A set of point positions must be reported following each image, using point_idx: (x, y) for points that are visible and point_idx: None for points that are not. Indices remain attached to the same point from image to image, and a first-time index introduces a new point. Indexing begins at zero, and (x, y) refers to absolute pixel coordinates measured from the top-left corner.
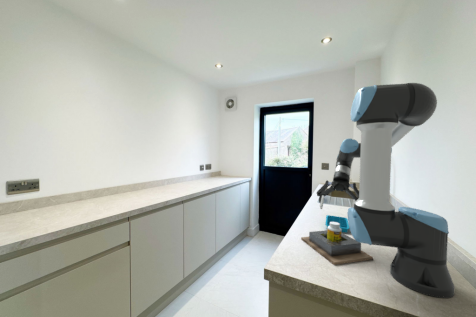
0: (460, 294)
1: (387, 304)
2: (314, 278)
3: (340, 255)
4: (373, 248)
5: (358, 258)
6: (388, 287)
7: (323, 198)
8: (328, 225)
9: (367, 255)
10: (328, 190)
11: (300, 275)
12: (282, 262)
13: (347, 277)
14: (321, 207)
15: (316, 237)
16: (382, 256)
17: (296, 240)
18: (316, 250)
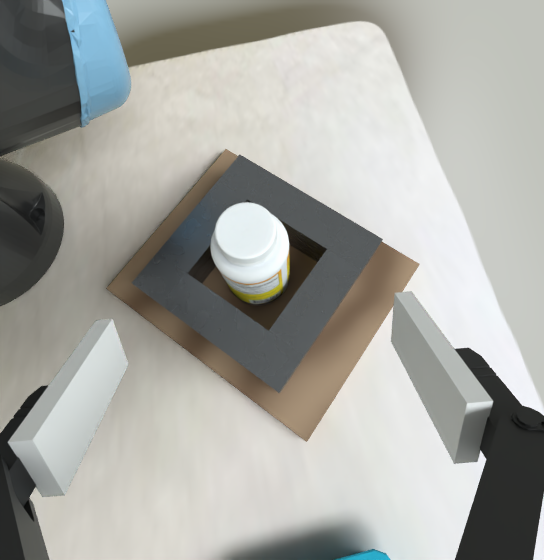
0: None
1: None
2: (256, 58)
3: None
4: (102, 420)
5: (155, 234)
6: (81, 145)
7: (444, 396)
8: (368, 554)
9: (125, 286)
10: (466, 540)
11: (292, 46)
12: (366, 63)
13: (181, 118)
14: (394, 311)
15: (327, 209)
16: None
17: (425, 241)
18: None
